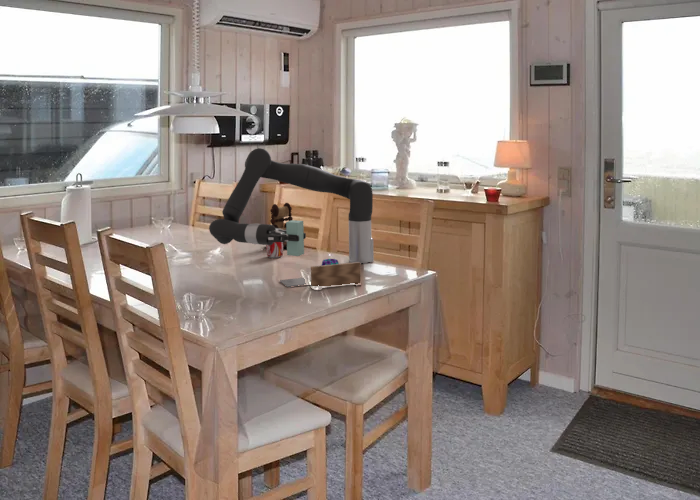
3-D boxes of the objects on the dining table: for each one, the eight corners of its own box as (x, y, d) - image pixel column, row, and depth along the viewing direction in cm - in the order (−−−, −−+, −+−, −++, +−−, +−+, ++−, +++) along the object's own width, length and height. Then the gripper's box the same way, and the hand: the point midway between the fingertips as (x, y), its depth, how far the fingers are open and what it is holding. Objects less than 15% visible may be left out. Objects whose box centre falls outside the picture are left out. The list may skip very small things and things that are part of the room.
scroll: (286, 242, 341) (285, 200, 337) (305, 246, 330) (303, 203, 326) (260, 246, 332) (258, 203, 328) (278, 251, 321) (276, 206, 317)
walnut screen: (356, 282, 261) (356, 260, 260) (362, 285, 257) (362, 263, 255) (309, 287, 255) (309, 265, 253) (314, 291, 250) (313, 268, 249)
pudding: (334, 268, 286) (334, 255, 285) (352, 273, 277) (352, 260, 276) (308, 272, 279) (308, 259, 278) (326, 278, 270) (325, 264, 269)
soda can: (280, 258, 305) (279, 230, 302) (264, 258, 306) (263, 230, 304) (285, 255, 311) (284, 227, 309) (269, 255, 313) (268, 227, 310)
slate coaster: (305, 278, 268) (305, 277, 268) (314, 284, 259) (314, 283, 259) (279, 281, 265) (279, 280, 264) (287, 287, 255) (287, 286, 255)
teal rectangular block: (293, 252, 263) (292, 220, 261) (304, 253, 261) (303, 220, 259) (287, 255, 259) (286, 222, 256) (298, 256, 257) (297, 222, 254)
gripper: (249, 227, 257) (292, 229, 250) (269, 221, 270) (310, 223, 263) (250, 247, 258) (293, 251, 252) (270, 240, 271) (311, 243, 265)
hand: (301, 237), depth 257 cm, fingers closed on teal rectangular block, 4 cm apart
